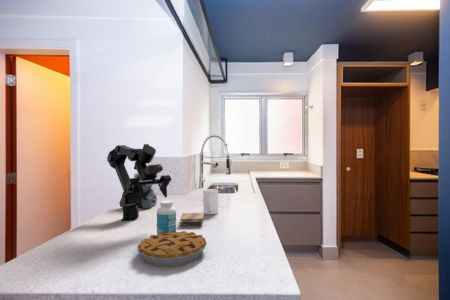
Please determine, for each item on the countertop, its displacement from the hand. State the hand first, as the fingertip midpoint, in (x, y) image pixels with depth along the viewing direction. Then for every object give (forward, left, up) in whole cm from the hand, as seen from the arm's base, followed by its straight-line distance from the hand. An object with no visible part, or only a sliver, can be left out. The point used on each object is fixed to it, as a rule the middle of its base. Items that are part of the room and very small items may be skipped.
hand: (156, 198), depth 108 cm
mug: (+22, +27, -14) cm, 37 cm away
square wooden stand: (+14, +10, -14) cm, 22 cm away
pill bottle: (+5, -6, -14) cm, 16 cm away
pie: (+10, -23, -14) cm, 29 cm away
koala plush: (-18, +49, -14) cm, 54 cm away
